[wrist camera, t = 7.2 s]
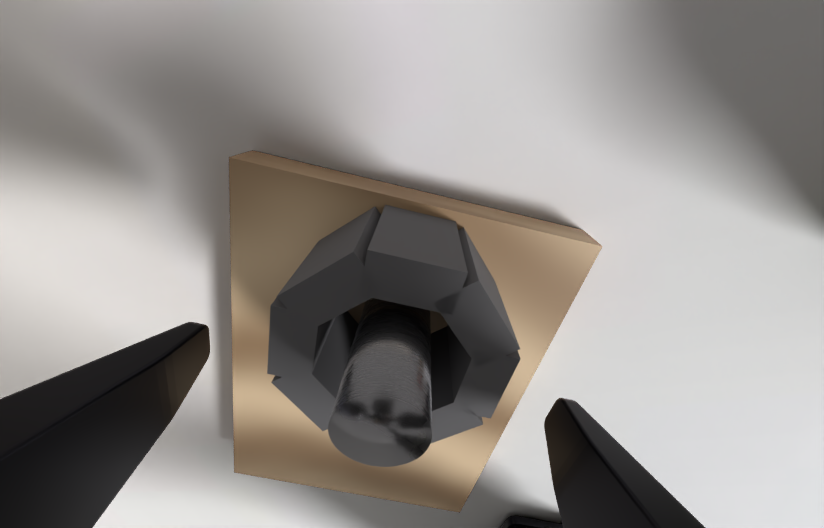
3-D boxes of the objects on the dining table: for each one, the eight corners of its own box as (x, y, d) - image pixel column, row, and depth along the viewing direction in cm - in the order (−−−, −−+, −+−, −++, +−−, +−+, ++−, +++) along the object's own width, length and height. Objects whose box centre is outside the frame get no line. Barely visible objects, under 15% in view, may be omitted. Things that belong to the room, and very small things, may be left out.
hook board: (457, 483, 19) (459, 512, 18) (248, 445, 18) (234, 472, 17) (583, 230, 12) (602, 246, 11) (252, 150, 11) (228, 157, 10)
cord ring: (459, 378, 14) (469, 461, 10) (303, 345, 13) (264, 423, 10) (516, 236, 11) (553, 292, 8) (320, 188, 10) (274, 228, 7)
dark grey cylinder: (421, 326, 13) (418, 474, 8) (364, 314, 12) (322, 456, 7) (437, 276, 12) (444, 409, 7) (374, 262, 11) (334, 387, 6)
